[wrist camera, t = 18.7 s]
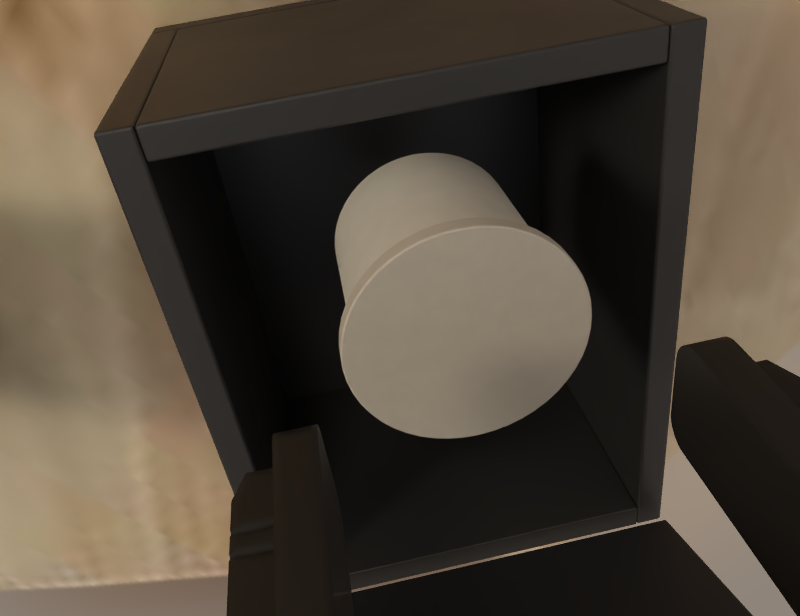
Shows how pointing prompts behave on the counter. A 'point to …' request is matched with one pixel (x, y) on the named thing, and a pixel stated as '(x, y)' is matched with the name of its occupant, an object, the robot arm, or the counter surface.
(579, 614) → the charcoal box lid
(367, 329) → the coffee pod
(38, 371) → the counter surface
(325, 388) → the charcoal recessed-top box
